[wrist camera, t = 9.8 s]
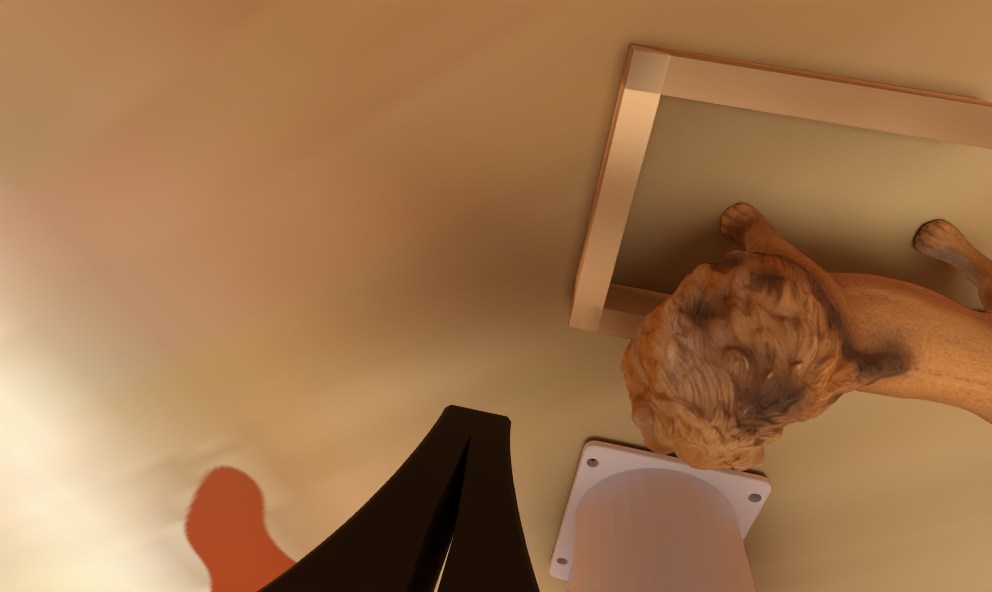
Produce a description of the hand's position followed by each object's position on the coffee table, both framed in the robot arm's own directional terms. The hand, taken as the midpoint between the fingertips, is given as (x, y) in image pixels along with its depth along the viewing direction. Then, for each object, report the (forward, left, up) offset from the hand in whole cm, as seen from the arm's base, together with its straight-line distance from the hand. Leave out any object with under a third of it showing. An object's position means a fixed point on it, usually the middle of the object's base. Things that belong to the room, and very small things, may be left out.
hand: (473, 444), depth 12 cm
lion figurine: (+1, -10, -10) cm, 14 cm away
